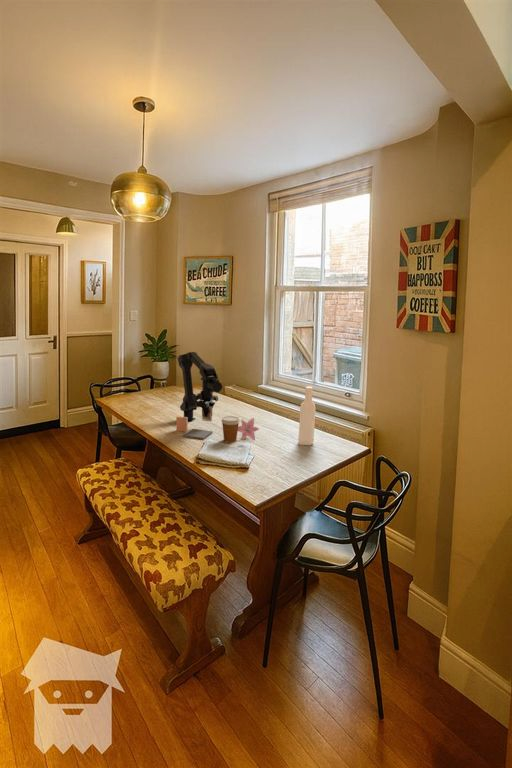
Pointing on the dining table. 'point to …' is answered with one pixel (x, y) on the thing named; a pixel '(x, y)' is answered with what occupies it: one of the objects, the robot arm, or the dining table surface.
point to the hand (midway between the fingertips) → (207, 416)
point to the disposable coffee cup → (230, 428)
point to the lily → (248, 429)
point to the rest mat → (198, 434)
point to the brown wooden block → (209, 416)
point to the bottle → (307, 419)
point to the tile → (181, 423)
